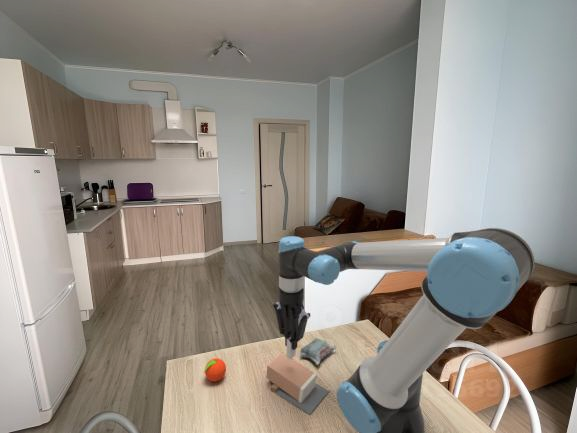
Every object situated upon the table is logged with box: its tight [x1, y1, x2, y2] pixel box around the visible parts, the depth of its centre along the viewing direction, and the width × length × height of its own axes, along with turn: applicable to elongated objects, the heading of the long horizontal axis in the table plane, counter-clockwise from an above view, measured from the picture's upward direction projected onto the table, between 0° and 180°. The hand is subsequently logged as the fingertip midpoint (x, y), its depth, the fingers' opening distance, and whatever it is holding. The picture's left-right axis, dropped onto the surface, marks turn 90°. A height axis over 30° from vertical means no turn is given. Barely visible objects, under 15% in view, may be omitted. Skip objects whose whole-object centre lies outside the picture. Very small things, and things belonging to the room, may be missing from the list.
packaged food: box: [299, 337, 337, 366], centre depth 110 cm, size 9×12×5 cm
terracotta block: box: [265, 352, 318, 403], centre depth 95 cm, size 5×8×14 cm
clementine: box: [203, 357, 227, 383], centre depth 98 cm, size 8×7×7 cm
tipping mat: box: [270, 383, 330, 416], centre depth 94 cm, size 15×11×2 cm
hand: (291, 356), depth 94 cm, fingers closed
